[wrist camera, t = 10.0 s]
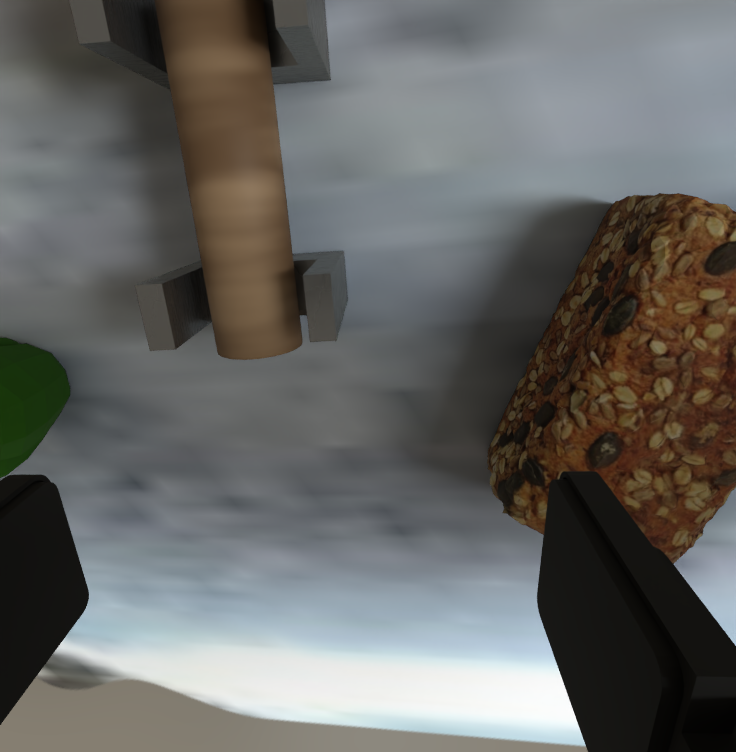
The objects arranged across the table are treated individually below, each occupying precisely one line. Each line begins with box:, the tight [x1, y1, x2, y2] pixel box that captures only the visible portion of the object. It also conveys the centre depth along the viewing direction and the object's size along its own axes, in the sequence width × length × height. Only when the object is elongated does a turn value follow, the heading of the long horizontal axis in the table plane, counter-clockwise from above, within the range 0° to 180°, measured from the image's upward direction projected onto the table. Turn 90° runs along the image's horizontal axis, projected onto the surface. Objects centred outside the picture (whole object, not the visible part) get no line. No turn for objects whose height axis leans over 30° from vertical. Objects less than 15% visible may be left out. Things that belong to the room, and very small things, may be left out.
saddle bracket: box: [135, 251, 348, 351], centre depth 26 cm, size 9×3×9 cm, turn 94°
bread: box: [487, 193, 736, 564], centre depth 27 cm, size 19×11×10 cm, turn 159°
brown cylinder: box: [155, 0, 302, 360], centre depth 23 cm, size 16×4×4 cm, turn 4°
